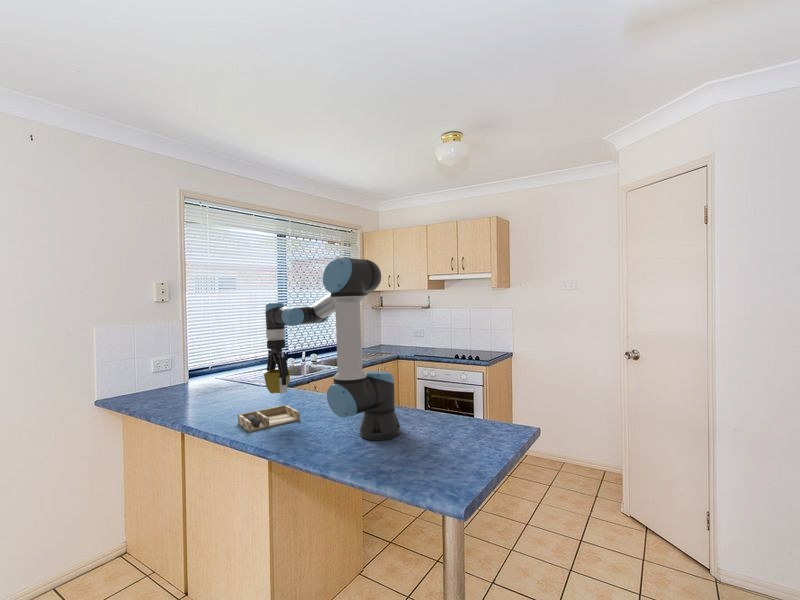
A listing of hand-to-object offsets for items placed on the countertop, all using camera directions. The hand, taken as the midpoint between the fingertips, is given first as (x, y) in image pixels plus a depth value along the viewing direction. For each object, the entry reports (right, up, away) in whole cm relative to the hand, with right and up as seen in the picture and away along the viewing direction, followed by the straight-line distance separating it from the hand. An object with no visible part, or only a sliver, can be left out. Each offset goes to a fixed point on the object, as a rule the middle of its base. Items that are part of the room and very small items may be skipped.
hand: (278, 390), depth 168 cm
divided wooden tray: (-4, -13, 0) cm, 14 cm away
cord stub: (-9, -13, -5) cm, 16 cm away
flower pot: (0, -1, 0) cm, 1 cm away
